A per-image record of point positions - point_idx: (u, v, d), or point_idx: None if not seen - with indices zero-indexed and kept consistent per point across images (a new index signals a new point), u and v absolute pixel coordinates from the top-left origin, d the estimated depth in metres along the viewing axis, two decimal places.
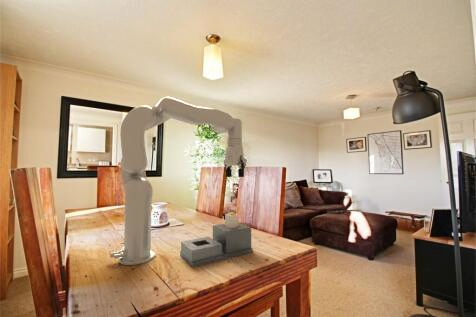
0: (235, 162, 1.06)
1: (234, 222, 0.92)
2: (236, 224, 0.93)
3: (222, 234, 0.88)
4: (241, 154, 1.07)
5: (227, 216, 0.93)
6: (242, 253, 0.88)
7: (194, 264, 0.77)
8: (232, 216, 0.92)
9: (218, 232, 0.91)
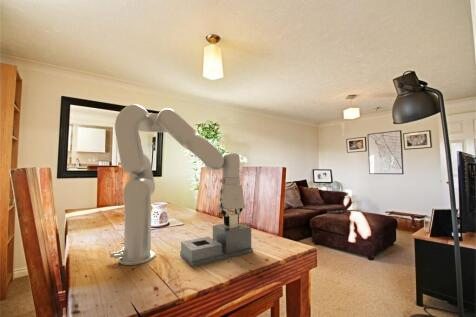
0: (242, 205, 0.94)
1: (234, 222, 0.92)
2: (236, 224, 0.93)
3: (222, 234, 0.88)
4: None
5: None
6: (242, 253, 0.88)
7: (194, 264, 0.77)
8: (232, 216, 0.92)
9: (218, 232, 0.91)
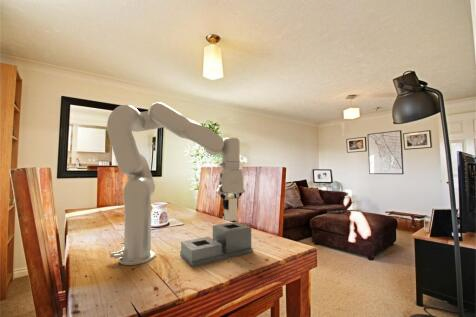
0: (241, 189, 0.94)
1: (234, 206, 0.93)
2: (235, 208, 0.93)
3: (222, 234, 0.88)
4: None
5: None
6: (242, 253, 0.88)
7: (194, 264, 0.77)
8: (231, 200, 0.92)
9: (218, 232, 0.91)
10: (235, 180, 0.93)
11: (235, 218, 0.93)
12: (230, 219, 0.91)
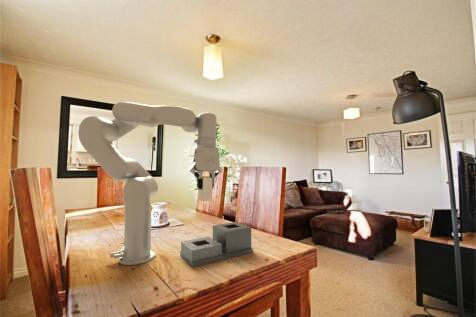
0: (217, 168, 0.89)
1: (208, 185, 0.87)
2: (210, 188, 0.88)
3: (222, 234, 0.88)
4: None
5: None
6: (242, 253, 0.88)
7: (194, 264, 0.77)
8: (206, 179, 0.87)
9: (218, 232, 0.91)
10: (210, 158, 0.87)
11: (210, 198, 0.87)
12: (204, 199, 0.86)
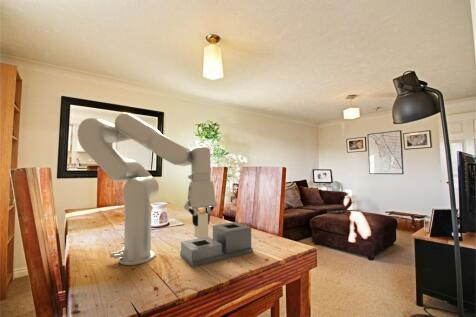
0: (212, 203, 0.87)
1: (204, 221, 0.85)
2: (206, 224, 0.85)
3: (222, 234, 0.88)
4: None
5: None
6: (242, 253, 0.88)
7: (194, 264, 0.77)
8: (201, 215, 0.84)
9: (218, 232, 0.91)
10: (205, 193, 0.85)
11: (206, 235, 0.85)
12: (200, 236, 0.84)
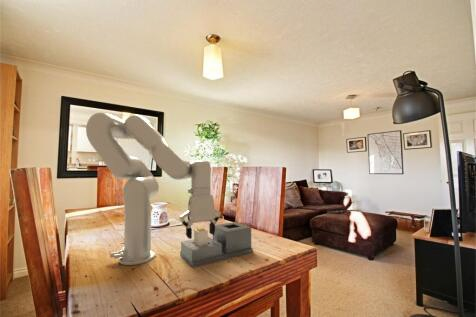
0: (212, 217, 0.86)
1: (204, 238, 0.85)
2: (206, 241, 0.85)
3: (222, 234, 0.88)
4: None
5: (196, 232, 0.85)
6: (242, 253, 0.88)
7: (194, 264, 0.77)
8: (201, 232, 0.84)
9: (218, 232, 0.91)
10: (205, 208, 0.85)
11: None
12: None
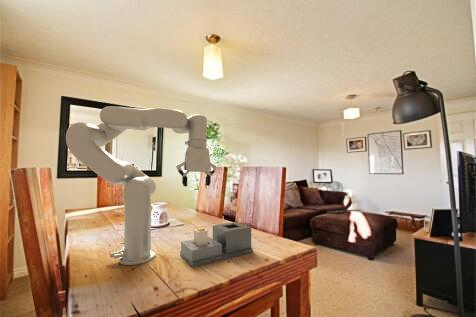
0: (208, 168, 0.91)
1: (204, 238, 0.85)
2: (206, 241, 0.85)
3: (222, 234, 0.88)
4: None
5: (196, 232, 0.85)
6: (242, 253, 0.88)
7: (194, 264, 0.77)
8: (201, 232, 0.84)
9: (218, 232, 0.91)
10: (200, 159, 0.89)
11: None
12: None
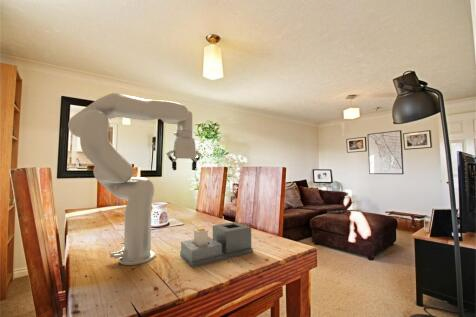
0: (194, 155, 1.08)
1: (204, 238, 0.85)
2: (206, 241, 0.85)
3: (222, 234, 0.88)
4: None
5: (196, 232, 0.85)
6: (242, 253, 0.88)
7: (194, 264, 0.77)
8: (201, 232, 0.84)
9: (218, 232, 0.91)
10: (187, 147, 1.06)
11: None
12: None
